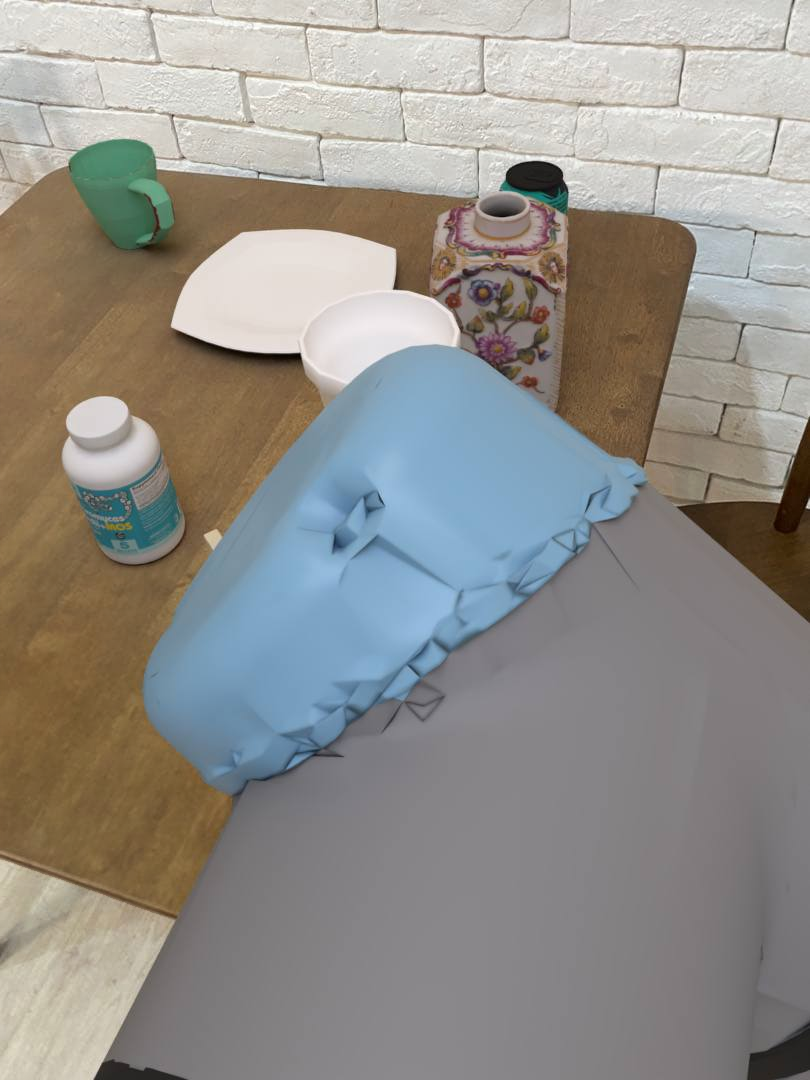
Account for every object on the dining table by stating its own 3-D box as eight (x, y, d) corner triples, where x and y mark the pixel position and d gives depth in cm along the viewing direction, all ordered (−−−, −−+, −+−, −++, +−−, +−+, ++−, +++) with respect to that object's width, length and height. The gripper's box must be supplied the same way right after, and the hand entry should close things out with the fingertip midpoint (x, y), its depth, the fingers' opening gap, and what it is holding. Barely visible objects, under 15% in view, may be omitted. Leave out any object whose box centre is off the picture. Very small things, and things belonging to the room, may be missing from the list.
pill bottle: (82, 546, 80) (24, 426, 70) (144, 493, 84) (98, 372, 73) (144, 582, 77) (93, 462, 66) (205, 525, 80) (166, 404, 70)
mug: (78, 242, 113) (49, 162, 106) (144, 209, 118) (122, 130, 110) (148, 285, 106) (123, 203, 99) (216, 248, 110) (197, 167, 103)
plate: (147, 351, 98) (142, 335, 96) (235, 235, 112) (232, 220, 111) (355, 381, 92) (353, 365, 91) (420, 255, 107) (419, 239, 105)
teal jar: (512, 256, 106) (515, 152, 97) (571, 268, 103) (579, 163, 94) (487, 289, 101) (488, 184, 93) (548, 303, 99) (555, 196, 90)
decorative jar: (561, 340, 95) (574, 169, 81) (559, 416, 87) (573, 241, 74) (443, 337, 96) (437, 169, 83) (431, 412, 89) (422, 240, 75)
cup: (482, 446, 85) (482, 302, 74) (433, 544, 77) (425, 400, 66) (357, 418, 89) (338, 277, 77) (299, 509, 81) (269, 367, 70)
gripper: (509, 1090, 26) (307, 851, 48) (844, 837, 30) (514, 725, 52) (394, 851, 25) (243, 721, 47) (755, 625, 29) (459, 604, 51)
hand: (386, 723), depth 49 cm, fingers closed
